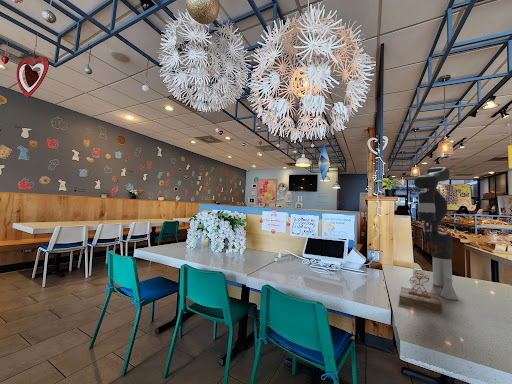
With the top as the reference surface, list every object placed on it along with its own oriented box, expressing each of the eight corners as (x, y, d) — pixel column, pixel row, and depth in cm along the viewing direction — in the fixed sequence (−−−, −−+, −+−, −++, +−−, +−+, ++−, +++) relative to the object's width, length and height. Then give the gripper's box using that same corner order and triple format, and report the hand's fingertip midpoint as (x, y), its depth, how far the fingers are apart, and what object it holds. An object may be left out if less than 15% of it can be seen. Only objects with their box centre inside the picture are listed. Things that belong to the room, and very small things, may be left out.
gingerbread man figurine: (408, 293, 111) (408, 269, 112) (408, 291, 114) (408, 268, 115) (430, 298, 106) (430, 273, 107) (430, 296, 109) (429, 271, 110)
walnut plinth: (401, 294, 121) (401, 286, 121) (438, 302, 111) (438, 294, 112) (399, 303, 108) (399, 295, 108) (441, 314, 99) (441, 305, 99)
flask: (461, 301, 114) (460, 281, 114) (445, 299, 115) (445, 280, 116) (452, 295, 121) (451, 277, 122) (437, 294, 122) (436, 276, 123)
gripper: (418, 211, 129) (418, 239, 128) (418, 211, 117) (418, 241, 116) (434, 211, 124) (435, 240, 123) (436, 211, 113) (437, 243, 112)
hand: (427, 241), depth 120 cm, fingers open, 8 cm apart
